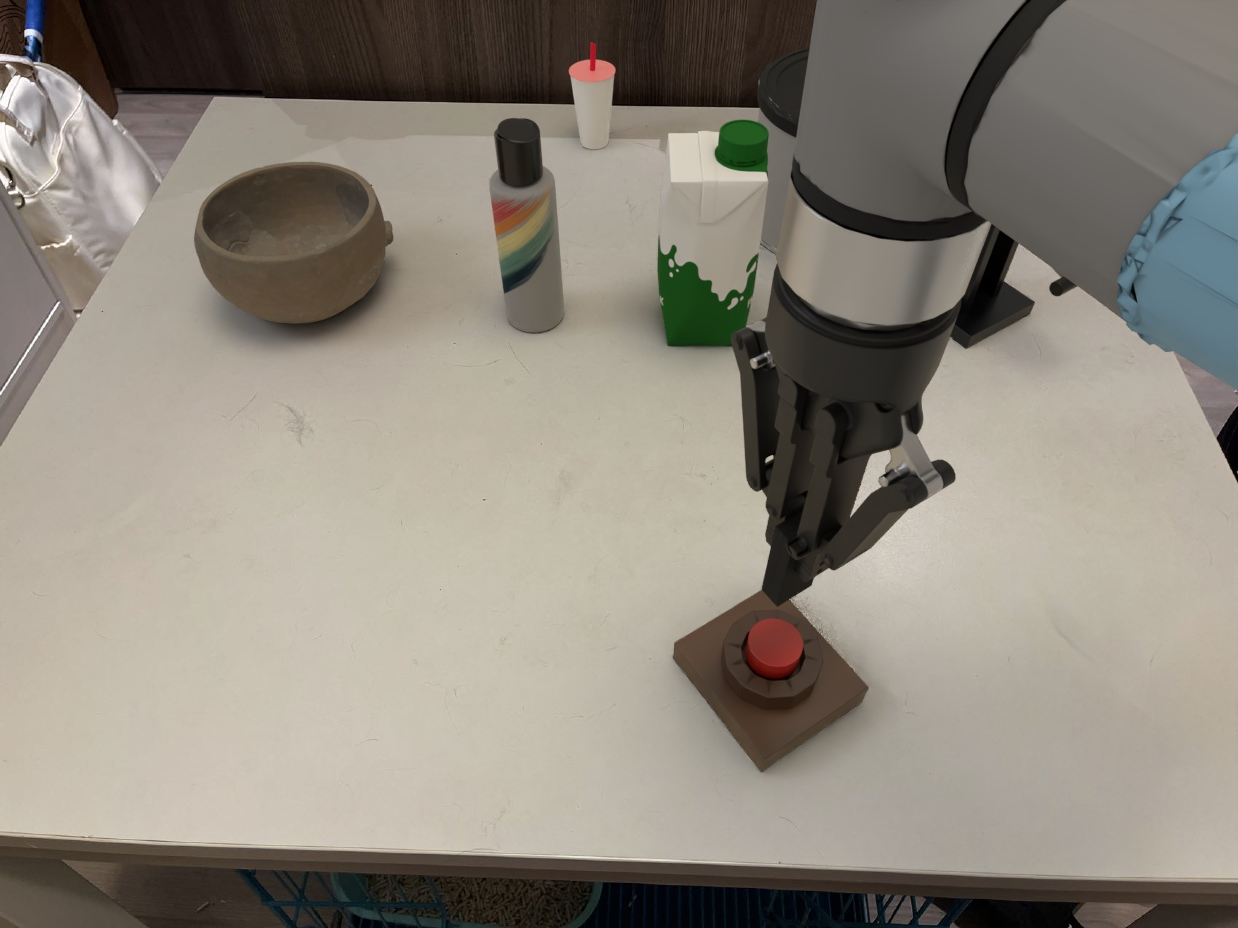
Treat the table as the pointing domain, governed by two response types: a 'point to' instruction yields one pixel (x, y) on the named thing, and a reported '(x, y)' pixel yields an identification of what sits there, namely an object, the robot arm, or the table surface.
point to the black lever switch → (990, 293)
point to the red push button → (774, 648)
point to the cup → (593, 99)
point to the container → (780, 132)
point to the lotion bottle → (526, 228)
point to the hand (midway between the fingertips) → (786, 587)
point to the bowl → (293, 240)
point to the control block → (768, 681)
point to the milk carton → (711, 231)
